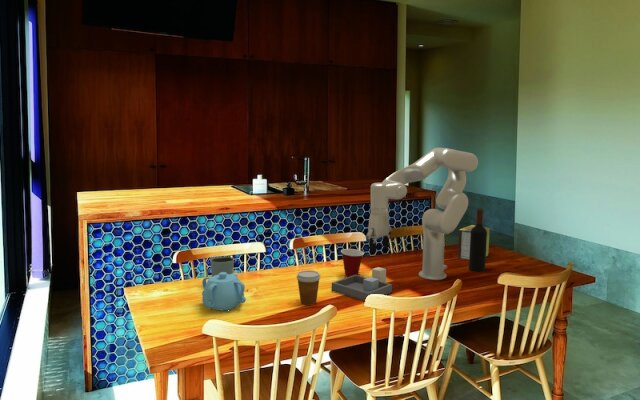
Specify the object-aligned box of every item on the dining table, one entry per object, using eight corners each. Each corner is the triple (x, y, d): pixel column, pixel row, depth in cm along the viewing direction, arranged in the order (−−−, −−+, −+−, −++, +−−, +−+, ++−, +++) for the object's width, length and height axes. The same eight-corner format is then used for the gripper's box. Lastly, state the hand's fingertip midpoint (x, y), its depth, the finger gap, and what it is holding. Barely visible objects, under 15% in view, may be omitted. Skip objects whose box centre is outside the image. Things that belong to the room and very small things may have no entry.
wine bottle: (467, 271, 255) (470, 209, 250) (469, 267, 262) (472, 207, 257) (484, 272, 252) (487, 211, 247) (485, 268, 259) (489, 208, 254)
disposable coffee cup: (301, 308, 205) (301, 278, 203) (293, 300, 214) (293, 271, 212) (324, 304, 209) (324, 275, 207) (314, 297, 217) (314, 269, 216)
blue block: (369, 290, 224) (370, 277, 223) (378, 293, 221) (378, 279, 220) (363, 293, 221) (363, 279, 220) (371, 295, 218) (372, 281, 217)
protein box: (488, 255, 283) (490, 227, 280) (475, 261, 271) (477, 232, 269) (470, 252, 290) (471, 224, 287) (457, 258, 278) (458, 229, 276)
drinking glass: (206, 287, 229) (205, 260, 227) (218, 280, 238) (218, 255, 236) (227, 290, 225) (226, 263, 224) (238, 283, 235) (238, 257, 233)
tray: (355, 282, 237) (355, 274, 236) (391, 292, 223) (392, 284, 223) (331, 290, 225) (331, 282, 225) (368, 302, 212) (368, 293, 211)
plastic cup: (362, 280, 240) (362, 254, 238) (338, 278, 242) (339, 253, 240) (365, 273, 250) (365, 248, 248) (342, 272, 252) (342, 247, 250)
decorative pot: (201, 301, 213) (200, 268, 210) (241, 297, 217) (240, 265, 215) (203, 316, 197) (202, 281, 195) (246, 311, 201) (246, 277, 199)
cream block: (377, 279, 241) (378, 267, 240) (385, 281, 238) (386, 269, 237) (371, 281, 238) (372, 269, 237) (379, 284, 235) (380, 271, 234)
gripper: (383, 207, 239) (383, 244, 242) (360, 213, 226) (360, 252, 229) (397, 209, 234) (397, 246, 237) (374, 215, 221) (374, 255, 224)
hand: (379, 249), depth 233 cm, fingers open, 9 cm apart
